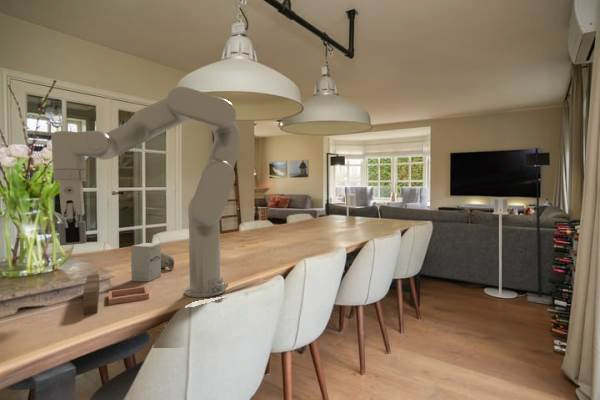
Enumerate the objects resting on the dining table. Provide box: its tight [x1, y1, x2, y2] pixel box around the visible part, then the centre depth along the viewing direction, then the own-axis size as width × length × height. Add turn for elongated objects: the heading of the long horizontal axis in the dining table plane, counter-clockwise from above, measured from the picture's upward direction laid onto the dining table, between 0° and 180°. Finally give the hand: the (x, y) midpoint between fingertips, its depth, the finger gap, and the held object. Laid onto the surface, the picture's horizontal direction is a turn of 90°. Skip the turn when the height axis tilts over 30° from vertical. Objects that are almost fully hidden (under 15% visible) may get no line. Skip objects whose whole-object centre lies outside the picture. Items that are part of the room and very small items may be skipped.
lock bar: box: [58, 220, 87, 246], centre depth 96 cm, size 6×4×6 cm, turn 120°
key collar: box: [108, 285, 150, 305], centre depth 103 cm, size 11×9×2 cm
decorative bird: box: [161, 251, 175, 271], centre depth 140 cm, size 5×16×8 cm, turn 57°
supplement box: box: [130, 242, 162, 282], centre depth 124 cm, size 7×7×13 cm
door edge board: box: [82, 273, 100, 316], centre depth 98 cm, size 20×3×6 cm, turn 29°
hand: (73, 240), depth 96 cm, fingers closed on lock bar, 4 cm apart
